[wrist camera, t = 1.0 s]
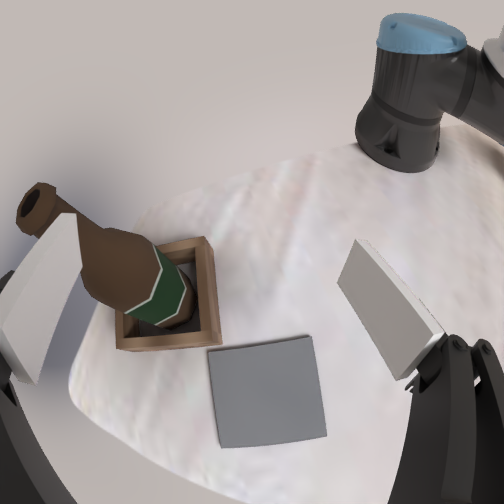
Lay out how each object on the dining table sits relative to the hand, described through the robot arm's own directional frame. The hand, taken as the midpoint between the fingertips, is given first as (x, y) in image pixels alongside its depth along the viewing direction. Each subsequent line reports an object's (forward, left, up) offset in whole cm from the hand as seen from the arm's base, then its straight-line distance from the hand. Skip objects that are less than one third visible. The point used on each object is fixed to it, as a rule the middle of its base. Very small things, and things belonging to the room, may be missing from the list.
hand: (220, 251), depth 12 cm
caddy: (+12, -5, -21) cm, 25 cm away
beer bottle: (+12, -5, -22) cm, 25 cm away
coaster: (+1, +8, -21) cm, 23 cm away
